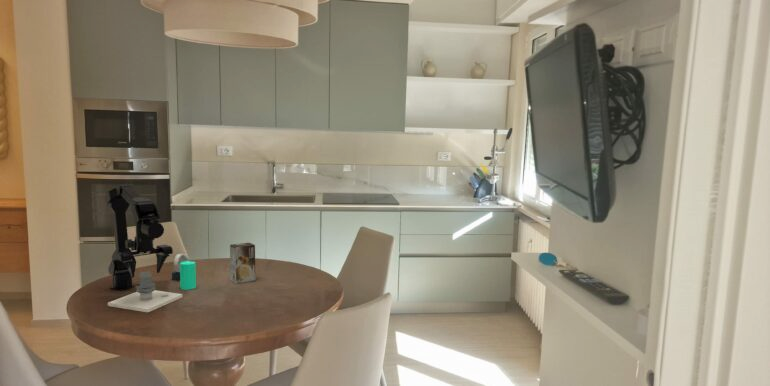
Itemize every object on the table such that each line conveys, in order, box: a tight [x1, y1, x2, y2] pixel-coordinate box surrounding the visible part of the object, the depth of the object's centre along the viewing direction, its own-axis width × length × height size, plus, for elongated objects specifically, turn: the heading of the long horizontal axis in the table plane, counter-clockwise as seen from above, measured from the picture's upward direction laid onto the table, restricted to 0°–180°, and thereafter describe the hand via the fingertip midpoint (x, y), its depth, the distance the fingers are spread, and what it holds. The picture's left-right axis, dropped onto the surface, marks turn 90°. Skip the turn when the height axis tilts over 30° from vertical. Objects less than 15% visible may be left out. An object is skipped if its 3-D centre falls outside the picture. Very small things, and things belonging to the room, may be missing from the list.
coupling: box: [135, 270, 156, 293], centre depth 189 cm, size 8×6×6 cm
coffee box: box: [229, 242, 257, 285], centre depth 219 cm, size 9×6×16 cm
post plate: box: [107, 289, 183, 313], centre depth 190 cm, size 18×18×4 cm
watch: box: [171, 253, 190, 281], centre depth 219 cm, size 6×8×11 cm
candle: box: [179, 259, 197, 290], centre depth 207 cm, size 6×6×12 cm
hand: (145, 275), depth 188 cm, fingers open, 9 cm apart
